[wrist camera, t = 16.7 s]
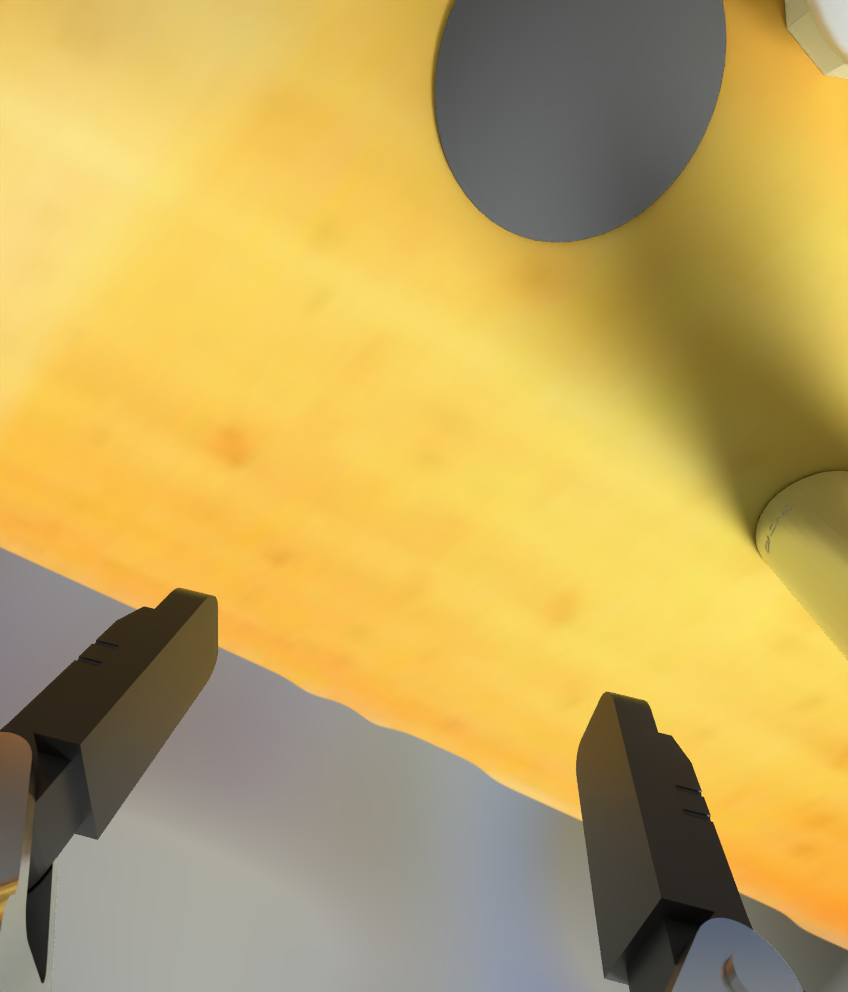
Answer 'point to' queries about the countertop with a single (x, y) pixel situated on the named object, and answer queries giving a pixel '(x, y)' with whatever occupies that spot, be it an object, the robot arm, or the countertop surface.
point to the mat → (575, 106)
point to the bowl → (812, 39)
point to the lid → (832, 24)
